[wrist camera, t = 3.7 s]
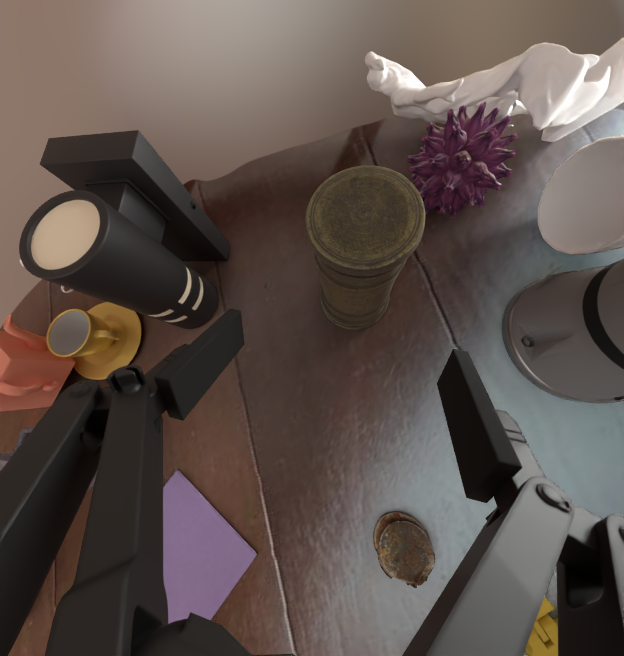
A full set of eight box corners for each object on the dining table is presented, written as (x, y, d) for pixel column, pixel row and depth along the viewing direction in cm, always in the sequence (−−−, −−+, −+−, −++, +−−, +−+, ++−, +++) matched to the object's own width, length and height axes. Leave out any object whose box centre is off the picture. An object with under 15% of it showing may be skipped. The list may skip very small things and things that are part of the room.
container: (400, 304, 33) (464, 217, 16) (348, 344, 33) (353, 300, 16) (358, 258, 36) (373, 137, 18) (308, 295, 35) (275, 208, 18)
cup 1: (63, 378, 37) (17, 378, 32) (81, 302, 40) (41, 290, 34) (135, 380, 35) (99, 379, 30) (149, 301, 38) (118, 288, 33)
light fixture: (158, 328, 37) (-5, 278, 20) (174, 245, 40) (45, 138, 23) (220, 329, 36) (103, 278, 18) (231, 244, 39) (141, 130, 21)
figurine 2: (717, 44, 20) (354, 79, 27) (589, 185, 31) (353, 186, 38) (652, -13, 26) (367, 26, 33) (563, 122, 37) (363, 132, 44)
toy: (657, 747, 21) (607, 778, 21) (638, 725, 22) (591, 755, 22) (524, 557, 25) (482, 583, 25) (515, 548, 26) (475, 573, 26)
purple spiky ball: (388, 222, 38) (416, 147, 37) (471, 242, 35) (502, 160, 34) (395, 173, 27) (434, 64, 26) (519, 196, 24) (566, 75, 23)
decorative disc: (438, 524, 27) (441, 529, 26) (428, 589, 26) (431, 596, 25) (378, 504, 28) (379, 508, 28) (367, 565, 27) (368, 571, 26)
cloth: (257, 553, 29) (256, 555, 28) (178, 664, 27) (176, 669, 27) (178, 469, 32) (176, 470, 32) (104, 565, 31) (100, 567, 30)
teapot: (101, 343, 35) (19, 333, 27) (48, 438, 35) (-51, 455, 27) (60, 310, 39) (-22, 293, 31) (13, 395, 39) (-83, 399, 31)
